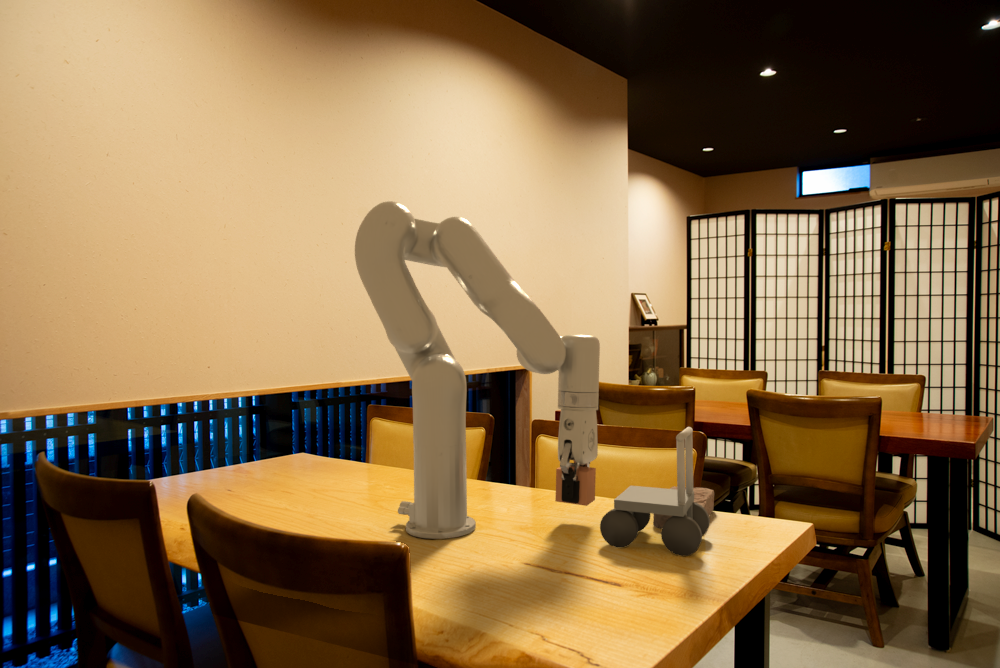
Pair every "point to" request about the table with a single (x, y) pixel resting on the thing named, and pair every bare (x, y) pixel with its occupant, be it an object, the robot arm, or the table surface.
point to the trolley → (661, 509)
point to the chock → (586, 485)
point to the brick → (700, 496)
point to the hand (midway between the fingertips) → (575, 497)
